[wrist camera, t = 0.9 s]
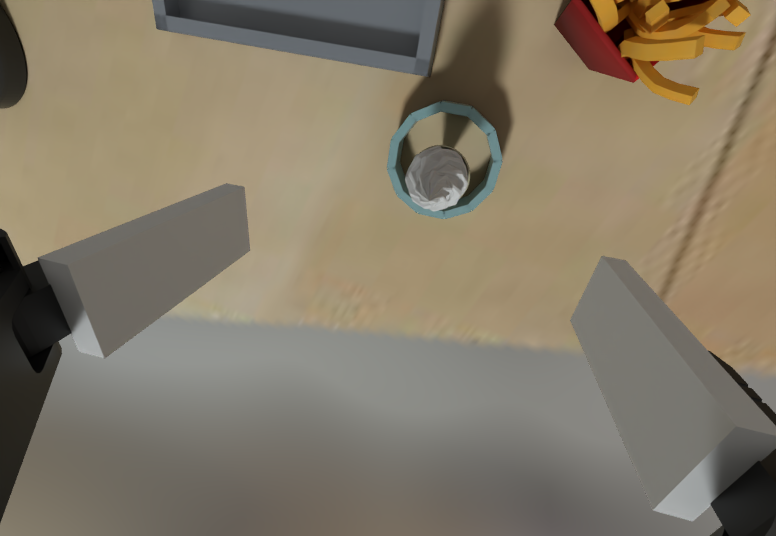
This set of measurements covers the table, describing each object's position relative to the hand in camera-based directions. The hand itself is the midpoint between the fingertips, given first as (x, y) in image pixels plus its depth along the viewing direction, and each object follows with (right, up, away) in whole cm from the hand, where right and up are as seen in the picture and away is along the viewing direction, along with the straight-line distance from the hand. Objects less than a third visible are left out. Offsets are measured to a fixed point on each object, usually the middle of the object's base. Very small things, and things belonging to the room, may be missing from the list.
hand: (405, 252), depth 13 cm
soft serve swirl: (+5, +11, +22) cm, 25 cm away
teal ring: (+5, +11, +22) cm, 25 cm away
